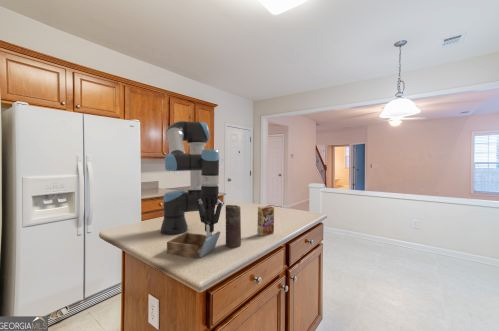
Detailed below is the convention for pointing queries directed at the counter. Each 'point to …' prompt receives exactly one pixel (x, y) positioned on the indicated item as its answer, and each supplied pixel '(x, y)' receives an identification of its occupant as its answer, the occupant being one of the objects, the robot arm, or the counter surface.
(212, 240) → the panel
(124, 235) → the counter surface
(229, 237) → the candle
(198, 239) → the box
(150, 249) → the counter surface
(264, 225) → the candy box
